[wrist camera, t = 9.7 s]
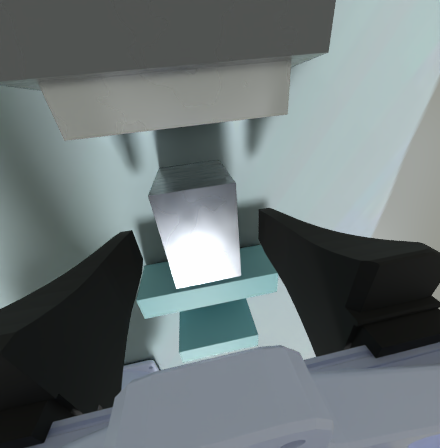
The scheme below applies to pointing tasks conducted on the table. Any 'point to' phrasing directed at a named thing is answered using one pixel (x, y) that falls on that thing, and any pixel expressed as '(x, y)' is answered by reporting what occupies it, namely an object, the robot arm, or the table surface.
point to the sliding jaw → (210, 305)
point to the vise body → (159, 59)
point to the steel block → (197, 221)
